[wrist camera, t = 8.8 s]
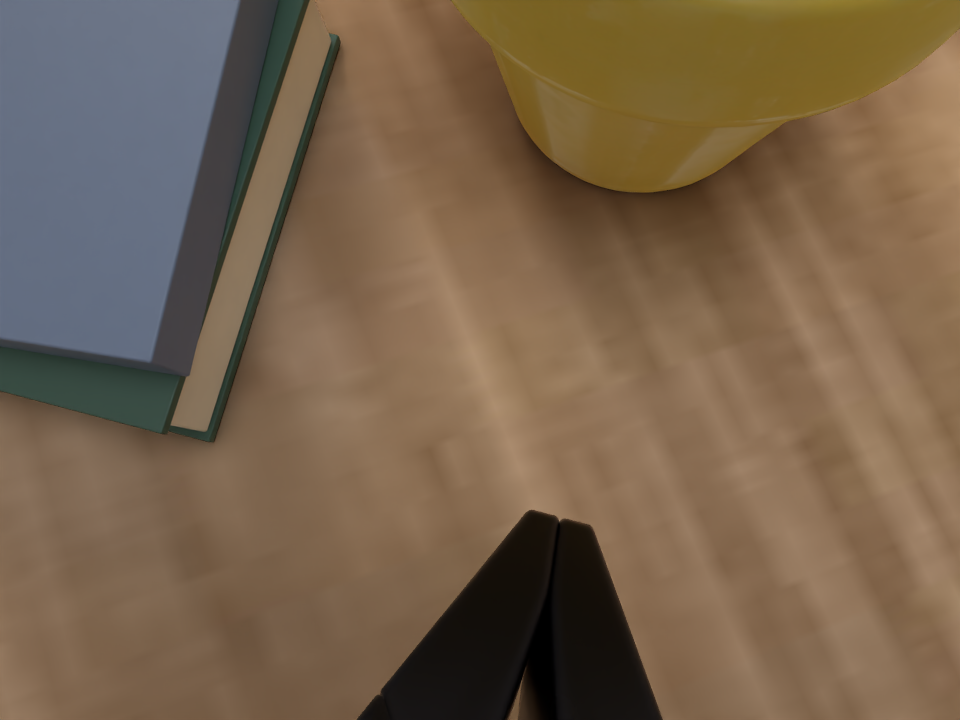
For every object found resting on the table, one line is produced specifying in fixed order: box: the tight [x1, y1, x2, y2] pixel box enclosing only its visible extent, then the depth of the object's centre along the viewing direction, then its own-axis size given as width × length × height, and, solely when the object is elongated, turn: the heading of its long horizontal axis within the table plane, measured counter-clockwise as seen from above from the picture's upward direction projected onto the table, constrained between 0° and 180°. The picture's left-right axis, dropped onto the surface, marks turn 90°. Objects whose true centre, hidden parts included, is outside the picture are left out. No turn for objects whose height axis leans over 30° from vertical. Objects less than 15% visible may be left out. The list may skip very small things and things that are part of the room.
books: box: [0, 0, 340, 442], centre depth 17 cm, size 11×9×4 cm
